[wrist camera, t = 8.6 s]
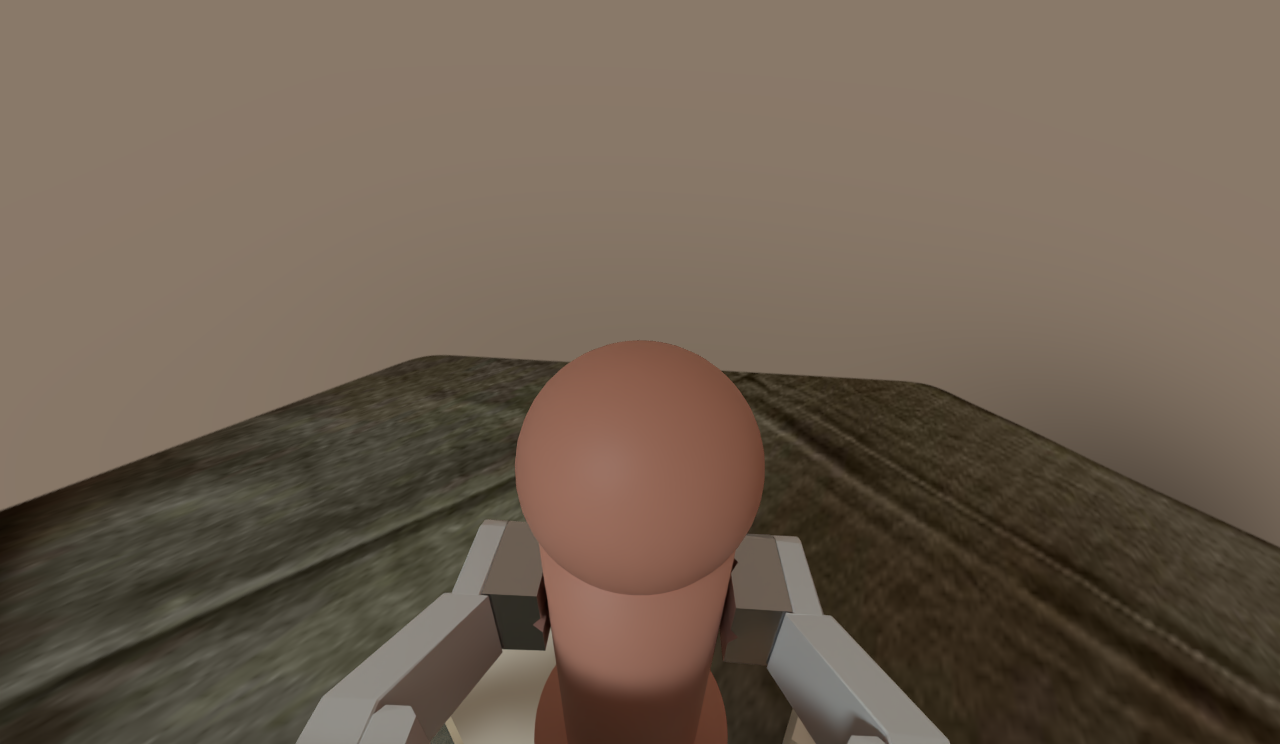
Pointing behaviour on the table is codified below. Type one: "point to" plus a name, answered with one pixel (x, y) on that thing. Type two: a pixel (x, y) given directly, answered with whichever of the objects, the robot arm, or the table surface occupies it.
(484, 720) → the board
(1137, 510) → the table surface
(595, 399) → the pawn
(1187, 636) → the table surface
